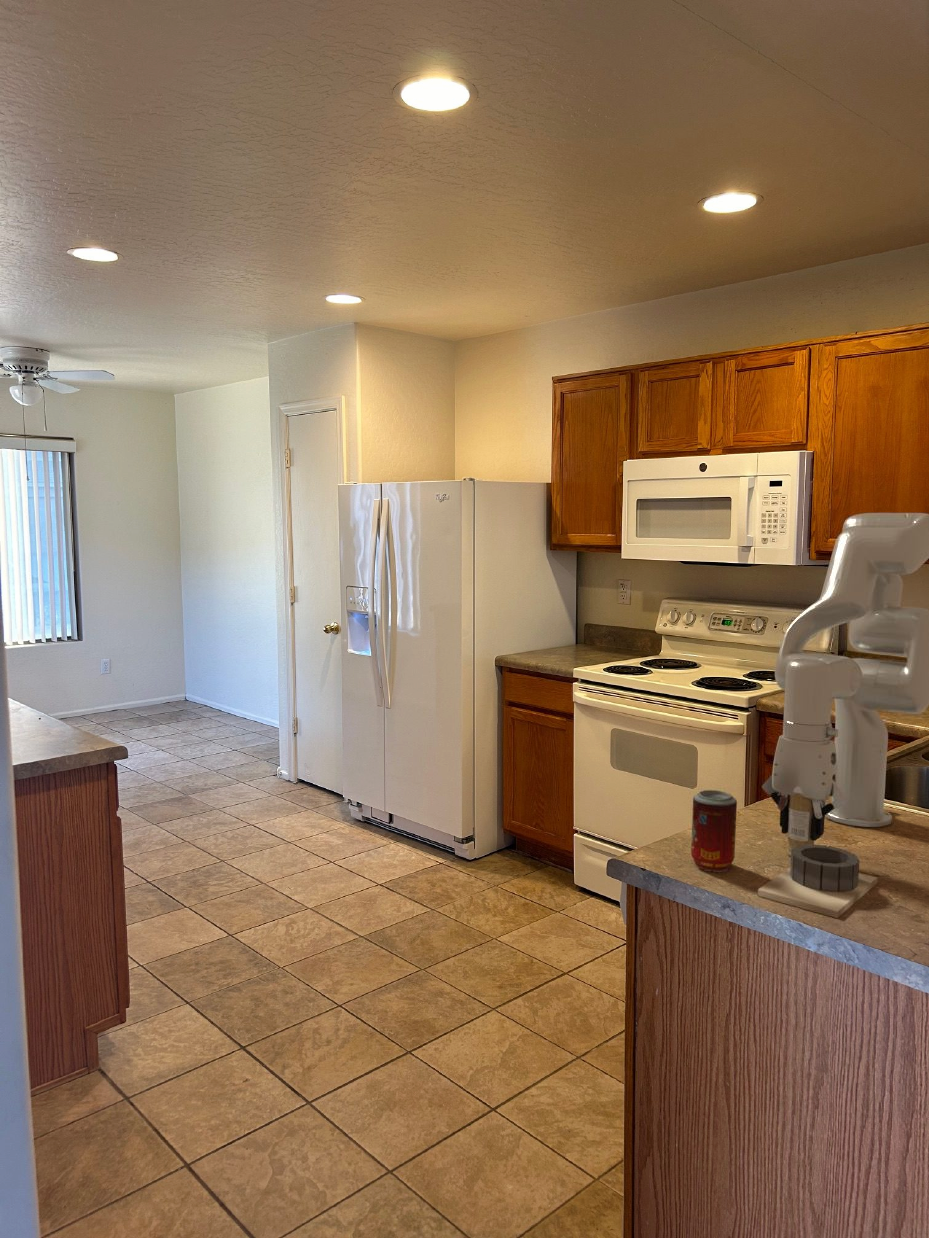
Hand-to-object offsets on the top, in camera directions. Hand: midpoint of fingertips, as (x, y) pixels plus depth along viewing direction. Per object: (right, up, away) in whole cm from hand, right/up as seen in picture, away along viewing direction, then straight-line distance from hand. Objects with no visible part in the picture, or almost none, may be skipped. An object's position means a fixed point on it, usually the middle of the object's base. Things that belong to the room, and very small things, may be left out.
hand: (801, 833), depth 158 cm
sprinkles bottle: (0, -4, 0) cm, 4 cm away
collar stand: (-3, -5, -15) cm, 16 cm away
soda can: (-17, -4, -5) cm, 18 cm away
